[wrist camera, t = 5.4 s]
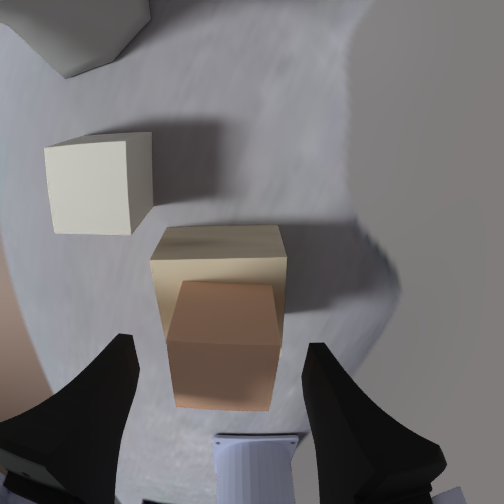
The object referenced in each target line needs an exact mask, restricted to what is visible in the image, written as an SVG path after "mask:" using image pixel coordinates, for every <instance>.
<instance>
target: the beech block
mask: <svg viewBox="0 0 504 504" xmlns="http://www.w3.org/2000/svg"><path fill="white" fill-rule="evenodd" d="M150 265H151V270H152V276H153V282H154V287H155V292H156V297H157V303H158V307H159V312H160V317H161V322H162V326H163V331H164V336H165V340H166V339H167V335H168V331H169V327H170V324H171V320H172V316H173V313H174V309H175V306H176V302H177V298H178V295H179V291H180V288H181V285H182V281H195V282H213V283H234V284H257V285H272V290H273V297H274V303H275V309H276V316H277V322H278V329H279V335H280V341H281V349H280V355H279V357H281V352H282V338H283V322H284V306H285V288H286V268H287V255H286V252H285V248H284V245H283V241H282V238H281V234H280V231H279V228H278V225H237V226H199V227H169V228H166V230H165V232H164V234H163V236H162V238H161V239H160V241H159V243H158V245H157V247H156V249H155V251H154V253H153V255H152V257H151V259H150ZM166 344H167V343H166Z"/></svg>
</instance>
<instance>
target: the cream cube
mask: <svg viewBox="0 0 504 504" xmlns="http://www.w3.org/2000/svg"><path fill="white" fill-rule="evenodd" d="M44 151H45V164H46V175H47V184H48V193H49V200H50V208H51V214H52V221H53V227H54V232H55V233H62V234H103V235H132V234H133V232H134V231H135V230H136V228H137V227H138V226H139V224H140V223H141V222H142V220H143V219H144V218H145V216H146V215H147V214H148V213H149V211H150V210H151V209H152V207H153V206H154V205H153V180H152V132H130V133H113V134H100V135H88V136H81V137H77V138H74V139H71V140H67V141H64V142H61V143H58V144H55V145H52V146H48V147H45V148H44Z"/></svg>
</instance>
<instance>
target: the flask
mask: <svg viewBox="0 0 504 504" xmlns="http://www.w3.org/2000/svg"><path fill="white" fill-rule="evenodd" d="M150 20H151V15H150V7H149V0H0V22H1V23H3V24H5V25H7V26H9V27H10V28H11V29H12V30H13V31H14V32H15V33H17V34H18V35H19V36H20V37H21V38H22V40H23V41H24V42H25V43H26V44H27V45H28V46H29V47H30V48H31V49H32V50H33V51H34V52H35V53H36V54H38V55H39V56H40V57H41V58H42V59H43V60H44V61H46V62H47V63H48V64H49V65H50V66H51V67H52V68H54V69H55V70H56V71H57V72H58V73H59V74H60V75H62V76H63V77H64V78H65V79H68V78H70V77H72V76H75V75H77V74H80V73H82V72H85V71H88V70H90V69H93V68H96V67H99V66H101V65H104V64H107V63H110V62H113V60H114V59H115V58H116V57H117V56H118V55H119V53H120V52H121V51H122V50H123V49H124V48H125V47H126V45H127V44H128V43H129V42H130V41H131V40H132V39H133V38H134V37H135V36H136V35H137V33H138V32H139V31H140V30H141V29H142V28H143V27H144V26H145V25H146V24H147V23H148V22H149V21H150Z"/></svg>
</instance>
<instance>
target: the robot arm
mask: <svg viewBox="0 0 504 504" xmlns="http://www.w3.org/2000/svg"><path fill="white" fill-rule="evenodd" d="M139 372H140V367H139V363H138V358H137V354H136V350H135V345H134V340H133V336H132V335H128V334H118V335H117V336H116V337H115V338H114V339H113V340H112V341H111V342H110V343H109V344H108V345H107V346H106V347H105V349H104V350H103V351H102V352H101V353H100V354H99V355H98V356H97V357H96V358H95V359H94V360H93V361H92V362H91V363H90V364H89V365H88V366H87V367H86V368H85V369H84V370H83V371H82V372H81V373H80V374H79V375H78V376H77V377H75V378H74V379H73V380H72V381H71V382H70V383H69V384H67V385H66V386H65V387H64V388H62V389H61V390H60V391H58V392H57V393H56V394H54V395H53V396H51V397H50V398H49V399H47V400H45V401H44V402H42V403H41V404H39V405H37V406H35V407H34V408H32V409H30V410H28V411H26V412H24V413H22V414H20V415H18V416H15V417H13V418H10V419H8V420H6V421H3V422H0V464H1V465H2V466H3V467H4V468H5V469H6V470H7V471H8V474H7V476H4V475H3V474H1V473H0V504H114V500H115V483H116V472H117V464H118V456H119V450H120V444H121V439H122V435H123V431H124V427H125V424H126V421H127V418H128V414H129V411H130V408H131V405H132V402H133V399H134V395H135V392H136V388H137V383H138V378H139ZM301 377H302V387H303V396H304V401H305V405H306V410H307V414H308V418H309V422H310V426H311V430H312V435H313V439H314V443H315V449H316V457H317V466H318V479H319V495H320V504H467V503H466V501H465V498H464V495H463V493H462V490H461V487H459V486H458V487H456V488H453V489H451V490H448V491H446V492H443V493H440V494H438V495H436V496H434V497H432V498H431V496H430V493H429V492H431V491H432V486H431V484H430V483H431V482H432V481H433V480H434V479H435V478H437V477H438V476H439V475H440V474H441V473H442V472H443V471H444V470H445V468H446V466H447V463H446V460H445V457H444V455H443V452H442V450H441V448H440V446H439V445H437V444H435V443H433V442H431V441H429V440H427V439H425V438H423V437H421V436H419V435H418V434H416V433H414V432H413V431H411V430H409V429H408V428H406V427H405V426H403V425H402V424H400V423H399V422H397V421H396V420H395V419H393V418H392V417H391V416H389V415H388V414H387V413H385V412H384V411H383V410H382V409H381V408H379V407H378V406H377V405H376V404H375V403H374V402H373V401H372V400H371V399H370V398H369V397H368V396H367V395H366V394H365V393H364V392H363V391H362V390H361V389H360V388H359V387H358V385H357V384H356V383H355V382H354V381H353V380H352V378H351V377H350V376H349V375H348V374H347V372H346V371H345V370H344V369H343V367H342V366H341V365H340V363H339V362H338V361H337V359H336V358H335V357H334V355H333V354H332V353H331V351H330V350H329V348H328V347H327V346H326V344H325V343H309V347H308V351H307V356H306V360H305V364H304V368H303V372H302V376H301ZM298 441H299V436H297V435H281V436H230V435H215V436H213V452H214V466H215V475H217V498H216V504H296V502H295V494H294V486H293V477H292V469H291V460H292V457H293V455H294V452H295V449H296V447H297V444H298Z"/></svg>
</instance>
